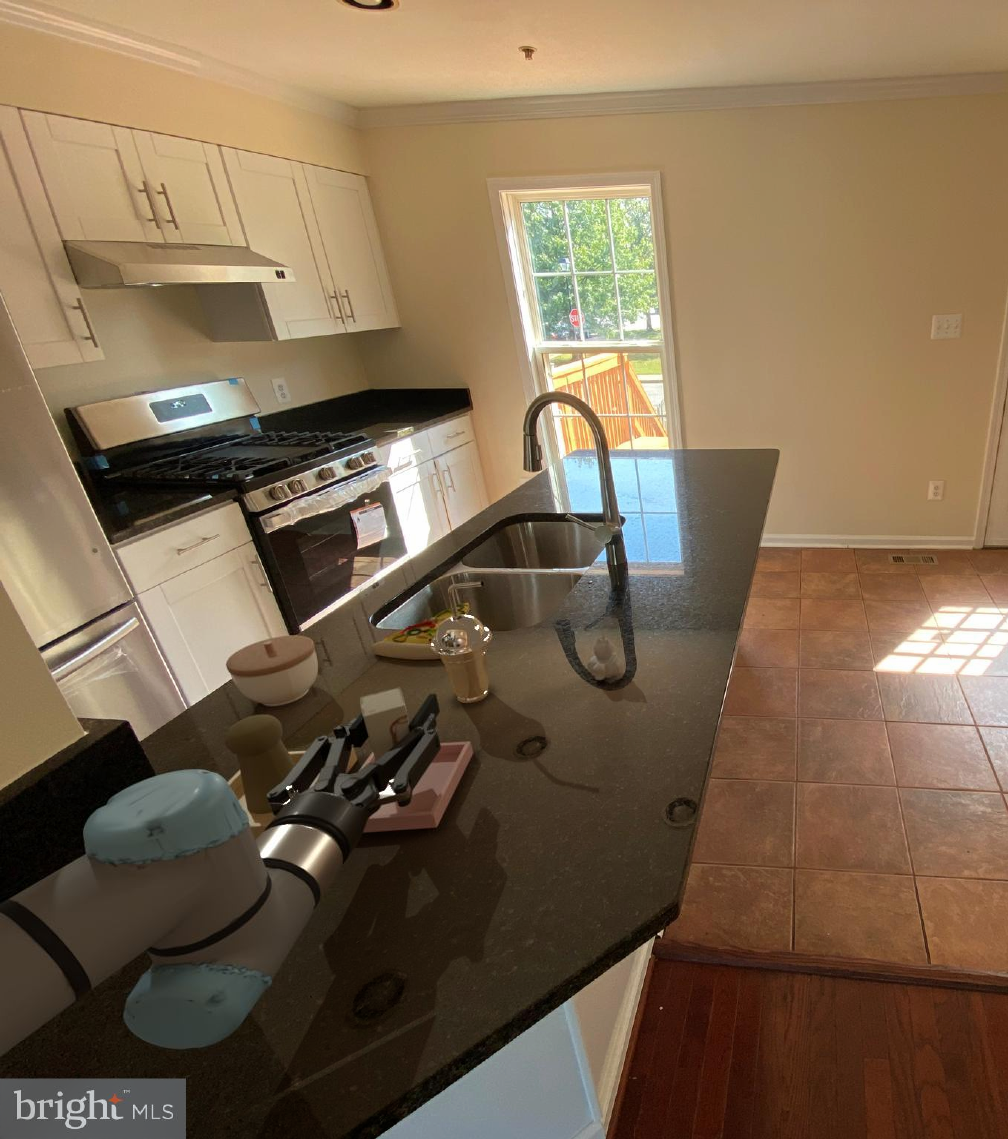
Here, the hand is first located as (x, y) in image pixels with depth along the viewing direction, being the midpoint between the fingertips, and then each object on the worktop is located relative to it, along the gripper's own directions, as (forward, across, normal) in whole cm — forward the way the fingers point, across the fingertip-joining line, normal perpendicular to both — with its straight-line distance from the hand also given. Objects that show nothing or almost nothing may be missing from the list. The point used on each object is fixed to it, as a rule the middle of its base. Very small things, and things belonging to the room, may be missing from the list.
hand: (407, 704), depth 78 cm
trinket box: (+18, -28, -10) cm, 34 cm away
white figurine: (+19, +22, -10) cm, 30 cm away
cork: (-5, -15, -9) cm, 18 cm away
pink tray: (-5, 0, -10) cm, 11 cm away
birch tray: (-5, -15, -9) cm, 19 cm away
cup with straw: (+16, +2, -10) cm, 18 cm away
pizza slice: (+37, -11, -10) cm, 40 cm away
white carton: (-5, 0, -6) cm, 8 cm away
